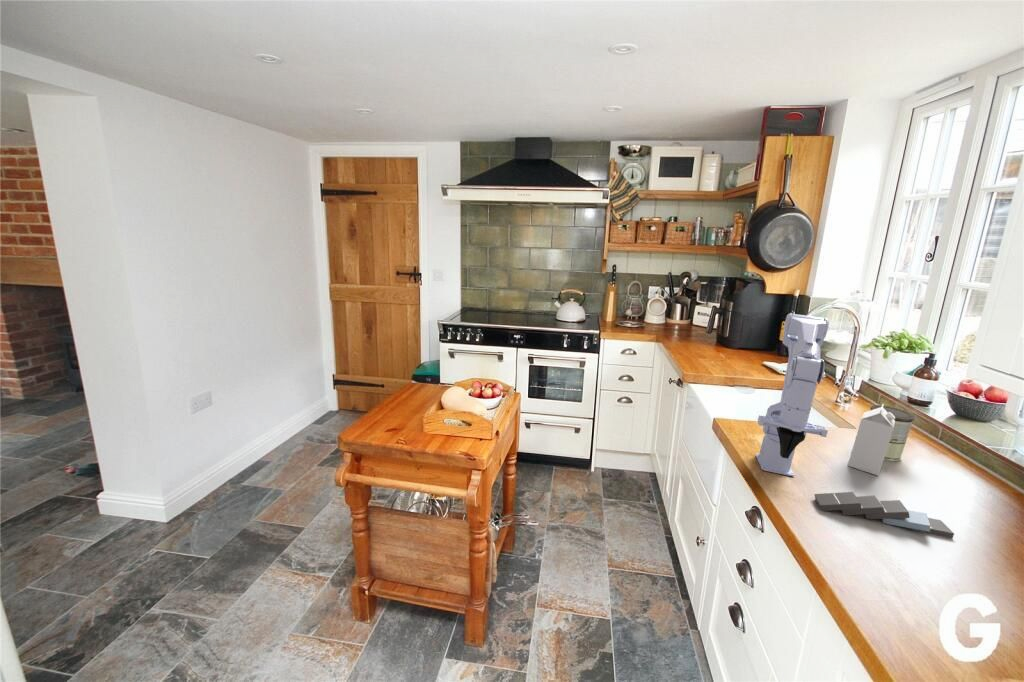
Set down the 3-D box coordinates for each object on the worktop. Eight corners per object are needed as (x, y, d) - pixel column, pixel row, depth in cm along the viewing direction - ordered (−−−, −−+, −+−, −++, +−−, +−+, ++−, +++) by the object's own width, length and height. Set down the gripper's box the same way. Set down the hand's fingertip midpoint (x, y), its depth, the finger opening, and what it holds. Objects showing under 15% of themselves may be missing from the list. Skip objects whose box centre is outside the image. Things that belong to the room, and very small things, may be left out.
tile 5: (911, 524, 101) (954, 533, 98) (899, 511, 105) (940, 520, 103) (909, 530, 101) (952, 539, 99) (898, 517, 106) (938, 525, 103)
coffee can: (851, 446, 141) (863, 405, 137) (873, 443, 144) (885, 404, 141) (886, 463, 132) (900, 420, 128) (908, 460, 135) (923, 417, 131)
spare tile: (883, 517, 102) (930, 525, 97) (881, 505, 106) (926, 513, 101) (882, 523, 102) (930, 531, 98) (881, 511, 106) (926, 519, 102)
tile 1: (820, 505, 105) (860, 503, 102) (814, 493, 110) (852, 491, 107) (821, 510, 105) (861, 509, 102) (815, 499, 110) (853, 497, 107)
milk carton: (847, 466, 128) (865, 405, 123) (850, 458, 133) (867, 399, 128) (878, 476, 124) (898, 414, 119) (880, 467, 129) (899, 407, 124)
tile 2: (842, 509, 104) (883, 507, 101) (835, 498, 109) (874, 495, 106) (843, 515, 104) (884, 513, 101) (836, 503, 109) (875, 501, 106)
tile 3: (865, 513, 103) (908, 511, 99) (858, 501, 107) (899, 500, 104) (866, 519, 103) (909, 518, 100) (859, 507, 108) (900, 506, 104)
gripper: (767, 406, 105) (755, 457, 108) (837, 417, 101) (822, 470, 104) (760, 396, 111) (749, 444, 115) (826, 406, 107) (813, 456, 111)
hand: (783, 456), depth 110 cm, fingers closed
